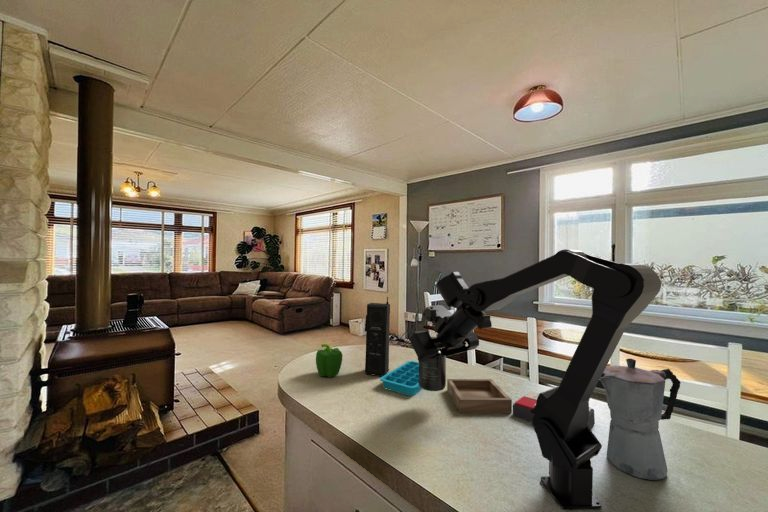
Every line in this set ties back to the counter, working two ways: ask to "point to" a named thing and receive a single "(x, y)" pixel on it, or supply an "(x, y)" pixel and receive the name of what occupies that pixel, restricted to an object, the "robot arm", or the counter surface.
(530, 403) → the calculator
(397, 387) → the ice cube tray
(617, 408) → the moka pot
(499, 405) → the holder
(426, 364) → the supplement bottle
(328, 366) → the bell pepper
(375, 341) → the portable radio
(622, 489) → the counter surface
